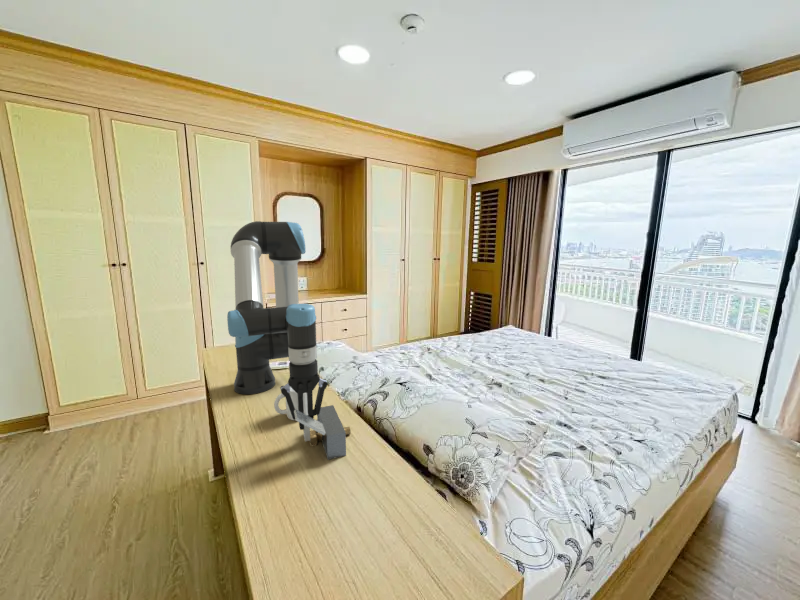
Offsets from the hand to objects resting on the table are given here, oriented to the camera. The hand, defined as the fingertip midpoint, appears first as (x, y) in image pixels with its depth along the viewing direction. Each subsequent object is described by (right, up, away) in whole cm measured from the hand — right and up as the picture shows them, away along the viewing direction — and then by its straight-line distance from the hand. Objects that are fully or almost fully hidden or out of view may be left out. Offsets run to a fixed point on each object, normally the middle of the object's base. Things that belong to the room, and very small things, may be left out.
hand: (306, 438), depth 96 cm
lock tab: (+3, +7, -8) cm, 11 cm away
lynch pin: (+6, -1, +3) cm, 7 cm away
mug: (-8, +1, +15) cm, 17 cm away
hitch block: (+7, -1, +1) cm, 7 cm away
